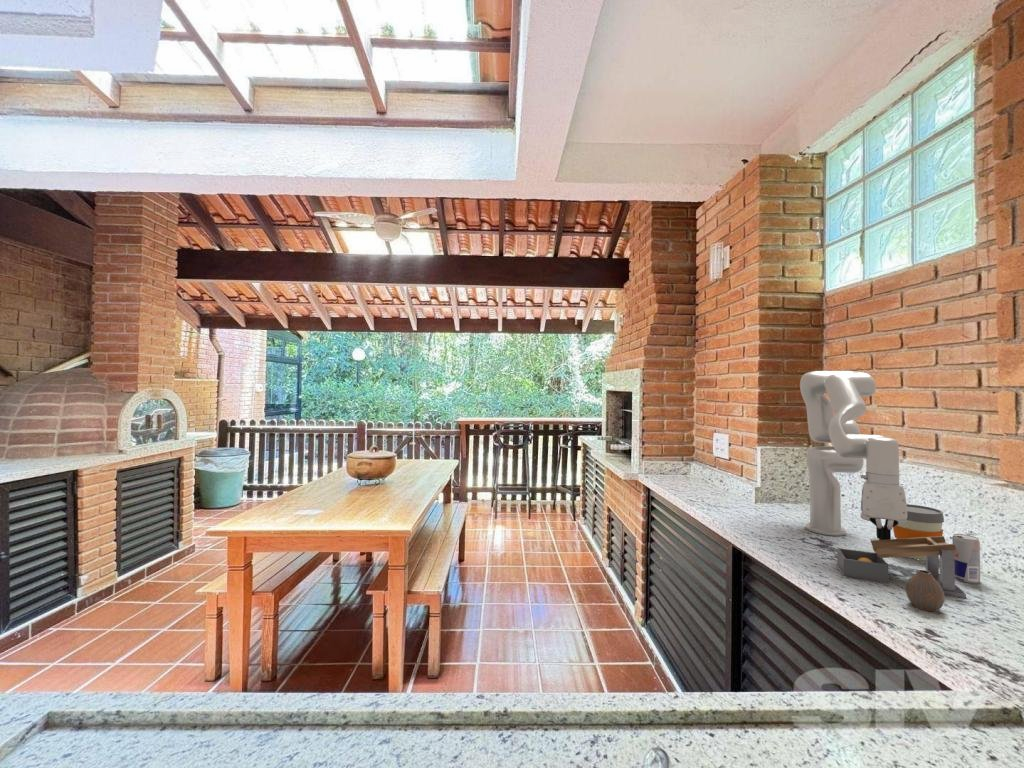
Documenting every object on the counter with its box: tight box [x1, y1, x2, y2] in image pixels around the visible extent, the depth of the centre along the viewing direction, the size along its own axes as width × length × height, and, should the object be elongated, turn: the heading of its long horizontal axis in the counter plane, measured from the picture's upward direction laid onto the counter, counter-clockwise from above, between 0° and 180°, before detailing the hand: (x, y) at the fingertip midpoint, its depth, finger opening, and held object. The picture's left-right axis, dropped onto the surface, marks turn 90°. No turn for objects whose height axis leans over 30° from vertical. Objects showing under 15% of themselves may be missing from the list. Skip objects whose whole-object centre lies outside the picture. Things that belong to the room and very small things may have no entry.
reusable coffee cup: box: [892, 503, 945, 561], centre depth 143 cm, size 13×12×15 cm
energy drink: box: [952, 533, 981, 585], centre depth 125 cm, size 5×5×12 cm
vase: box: [905, 569, 945, 612], centre depth 109 cm, size 7×7×9 cm
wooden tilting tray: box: [870, 535, 957, 559], centre depth 127 cm, size 15×16×3 cm
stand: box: [915, 549, 967, 599], centre depth 121 cm, size 14×6×11 cm, turn 153°
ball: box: [858, 558, 872, 562], centre depth 129 cm, size 4×4×4 cm
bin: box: [836, 547, 889, 584], centre depth 129 cm, size 10×10×5 cm
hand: (883, 541), depth 133 cm, fingers closed
